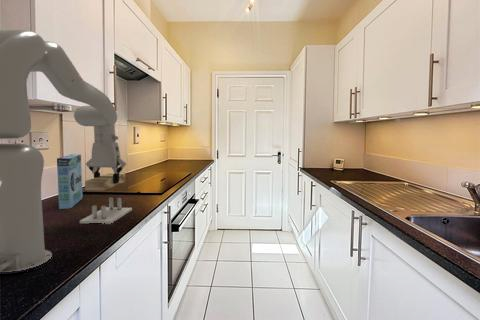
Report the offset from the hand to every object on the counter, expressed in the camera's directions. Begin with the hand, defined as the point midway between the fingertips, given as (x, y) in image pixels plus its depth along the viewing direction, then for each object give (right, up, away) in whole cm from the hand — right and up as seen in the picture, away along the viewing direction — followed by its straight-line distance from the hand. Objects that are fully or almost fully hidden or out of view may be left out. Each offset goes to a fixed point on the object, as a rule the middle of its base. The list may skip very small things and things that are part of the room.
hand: (106, 182), depth 115 cm
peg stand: (0, -14, +1) cm, 14 cm away
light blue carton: (-26, -12, +20) cm, 35 cm away
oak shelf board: (0, -1, 0) cm, 1 cm away
